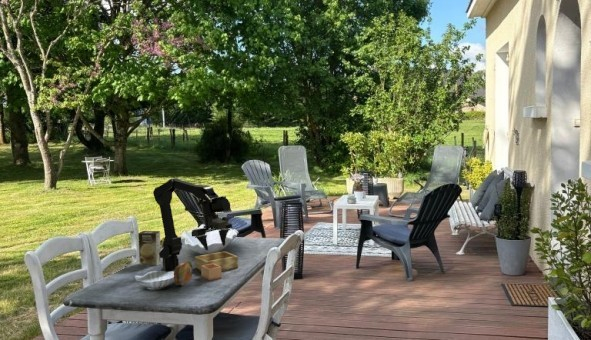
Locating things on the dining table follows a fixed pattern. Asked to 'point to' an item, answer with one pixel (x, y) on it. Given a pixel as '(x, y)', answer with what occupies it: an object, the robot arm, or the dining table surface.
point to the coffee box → (149, 248)
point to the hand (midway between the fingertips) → (215, 248)
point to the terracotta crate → (211, 271)
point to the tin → (183, 273)
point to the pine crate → (217, 260)
